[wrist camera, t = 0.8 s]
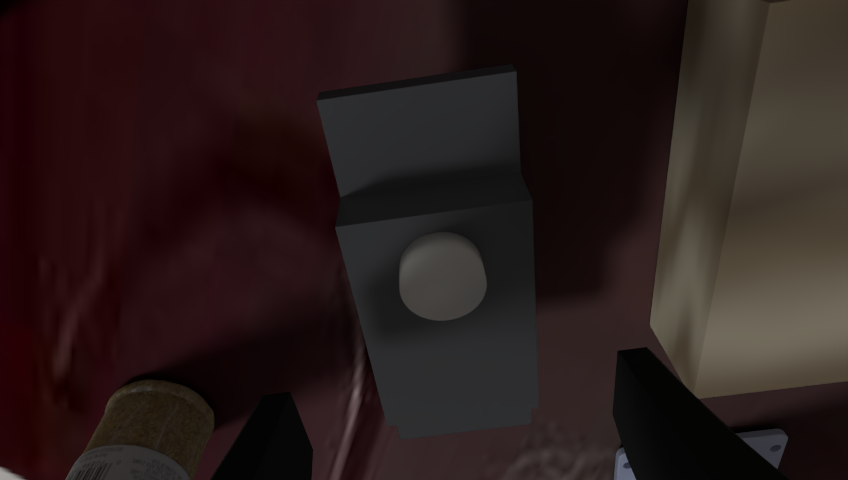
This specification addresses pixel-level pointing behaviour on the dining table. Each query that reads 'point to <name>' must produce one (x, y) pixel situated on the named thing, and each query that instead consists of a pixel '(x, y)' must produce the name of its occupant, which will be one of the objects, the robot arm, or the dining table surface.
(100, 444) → the sprinkles bottle
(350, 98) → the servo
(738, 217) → the tan slotted block
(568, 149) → the dining table surface
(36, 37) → the dining table surface
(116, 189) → the dining table surface
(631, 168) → the dining table surface
